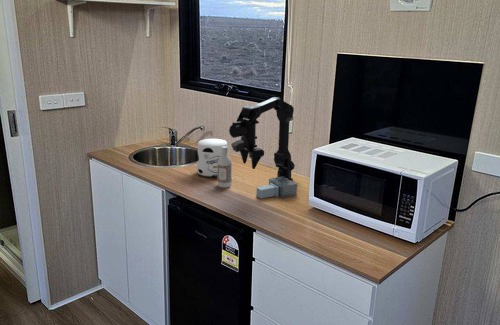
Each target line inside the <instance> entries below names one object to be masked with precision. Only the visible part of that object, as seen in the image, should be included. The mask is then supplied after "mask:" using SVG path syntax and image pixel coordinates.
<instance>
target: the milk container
mask: <svg viewBox="0 0 500 325" xmlns="http://www.w3.org/2000/svg"><path fill="white" fill-rule="evenodd" d="M222 146H227V147H228V142H227V140H225V139H221V138H205V139H201V140H199V141H198V142H197V162H196V171H197V173H198V175H200V176H202V177H206V178H218V170H217V163H218V159H219V157H220V156H221V154H222V150H221V148H222Z"/></svg>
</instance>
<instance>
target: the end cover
mask: <svg viewBox="0 0 500 325" xmlns="http://www.w3.org/2000/svg"><path fill="white" fill-rule="evenodd" d="M255 192H256V197H257V198H259V199H265V198H270V197H271V198H272V197H277V198H278V197H279V186H277V185H274V184H272V183H270V185H269V184H267V185H262V186H257V187H256V191H255Z"/></svg>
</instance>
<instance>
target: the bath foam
mask: <svg viewBox="0 0 500 325" xmlns="http://www.w3.org/2000/svg"><path fill="white" fill-rule="evenodd" d="M221 150H222V154H221V156H220V157H219V159H218V163H217V170H218V177H217V186H218V188H222V189H224V188H226V189H227V188H230V187H231V186H232V184H233V183H232V181H233V180H232V177H233V176H232V168H233V167H232V165H233V164H232V159H231V157H230V155H229V153H228V150H229V149H228V145H227V146H222V148H221Z"/></svg>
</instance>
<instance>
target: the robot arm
mask: <svg viewBox="0 0 500 325" xmlns="http://www.w3.org/2000/svg"><path fill="white" fill-rule="evenodd" d="M294 108H295V107H294V106H293V105H291V104H289V103H288V102H286V101H285V100H284V99H282V98H281V97H276V96H273V97H271V98H268V99H267V100H265V101H262V102H259V103H258V104H251V105H244V106H243V107H242V108H241V110H240V113H239V114H238V116H237V118H236V121H233V122H232V125H230V126H229V129H228V132H229V135H230V136H231V137H232V138H233V139H234V138H239V137H240V139H239V140H235V141H234V142H232V143H231V144H230V145H231V147H232V150H233V151H234V152H235V153H240V156H241V159H242V163H243V164H244V165H245V164H246V163H247V160H248V157H249V158H250V159H251V168H252V169H253V170H255V169H256V167H257V166H258V164H259V162H260V160H261V158H262V157H264V156H265V151H264V149H262V148H261V147H258V145H257V144H256V140H257V139H258V136H257V135H256V134H257V133H256V125H257V124H259V123H260V121H259V120H258V119H259V118H260V117H261V115H262V114H263V113H265V112H268V111H270V110H275V112H276V113H275V114H276V118H277V120H278V122H279V123H278V124H279V125H278V149H277V151H276V152H274V154H273V155H274V156H273V161H274V164H275V167H276V168H278V171H277V176H276V177H282V176H283V177H285V178H287V179H289V180H291V181H293V180H294V178H292V171H293V170H294V169H295V166H296V165H295V163H294V162H293V161H292V155H291V152H290V151H289V141H290V140H289V139H290V138H289V137H290V122H291V121H292V118H293V117H294V110H295V109H294Z"/></svg>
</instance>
